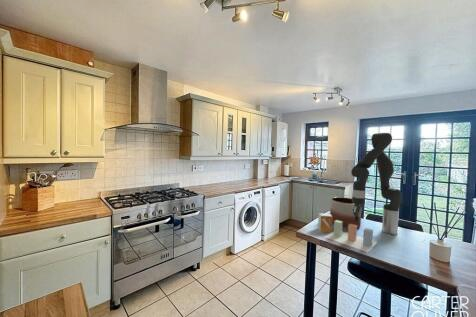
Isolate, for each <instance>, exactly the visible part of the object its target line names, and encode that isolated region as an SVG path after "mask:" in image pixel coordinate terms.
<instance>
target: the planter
mask: <svg viewBox="0 0 476 317" xmlns="http://www.w3.org/2000/svg"><path fill="white" fill-rule="evenodd" d="M354 206H355V204H354V203H352V198H351V197H345V196H344V197H343V196H341V197H340V196H335V197H331V198H330V211H329V214H330V215H331V216H333V218H332V225H334V221H336V220H338V221H342V222H343V224H342V228H346V229H348V225H349V224H354V225H357V229H358V228H361V223H362V222H361V220H362V214H361V215H360V216H359V222H356V221H355V215H354V213H353V209H354Z"/></svg>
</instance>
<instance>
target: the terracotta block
mask: <svg viewBox="0 0 476 317" xmlns="http://www.w3.org/2000/svg"><path fill="white" fill-rule="evenodd" d="M347 233H348V240H349V241H352V242H355V241H356V236H358V235H357V233H358V228H357V225H354V224H349V225H348V228H347Z"/></svg>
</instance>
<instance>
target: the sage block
mask: <svg viewBox="0 0 476 317" xmlns="http://www.w3.org/2000/svg"><path fill="white" fill-rule="evenodd" d="M342 224H343V222H342V221H338V220H336V221H334V224H333V231H334V236H337V237H341V236H342V232H343V227H342Z"/></svg>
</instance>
